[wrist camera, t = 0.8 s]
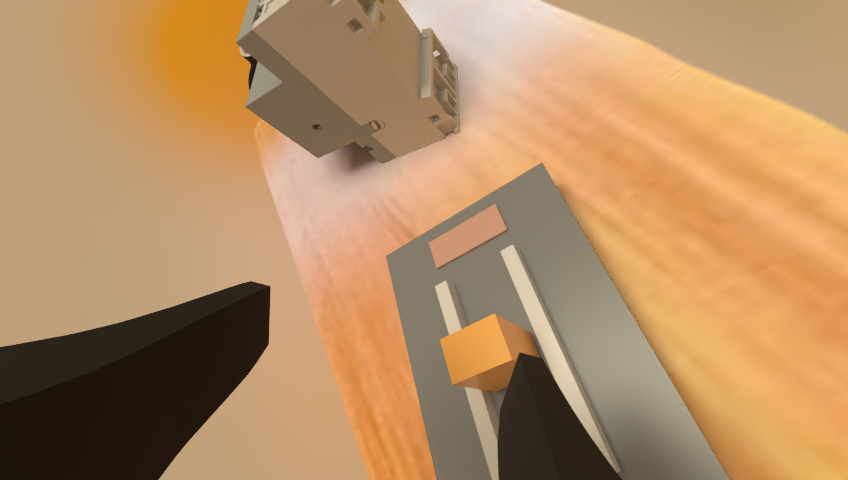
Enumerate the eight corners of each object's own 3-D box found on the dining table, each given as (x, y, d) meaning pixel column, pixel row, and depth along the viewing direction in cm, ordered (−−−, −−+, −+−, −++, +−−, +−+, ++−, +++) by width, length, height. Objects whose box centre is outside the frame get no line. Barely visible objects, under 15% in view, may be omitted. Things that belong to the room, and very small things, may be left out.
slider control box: (786, 574, 14) (808, 613, 11) (502, 621, 19) (464, 659, 16) (555, 186, 26) (536, 153, 22) (410, 269, 30) (377, 251, 27)
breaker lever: (546, 371, 19) (512, 359, 15) (495, 391, 20) (452, 384, 16) (530, 332, 20) (494, 313, 16) (482, 353, 21) (439, 339, 17)
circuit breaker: (341, 125, 42) (208, 14, 31) (457, 67, 35) (341, -104, 24) (333, 183, 39) (183, 83, 28) (459, 132, 32) (328, -30, 21)
